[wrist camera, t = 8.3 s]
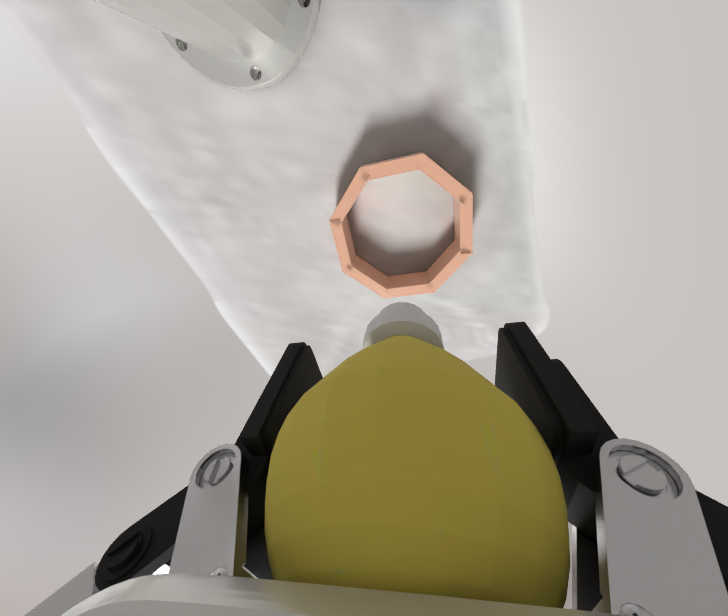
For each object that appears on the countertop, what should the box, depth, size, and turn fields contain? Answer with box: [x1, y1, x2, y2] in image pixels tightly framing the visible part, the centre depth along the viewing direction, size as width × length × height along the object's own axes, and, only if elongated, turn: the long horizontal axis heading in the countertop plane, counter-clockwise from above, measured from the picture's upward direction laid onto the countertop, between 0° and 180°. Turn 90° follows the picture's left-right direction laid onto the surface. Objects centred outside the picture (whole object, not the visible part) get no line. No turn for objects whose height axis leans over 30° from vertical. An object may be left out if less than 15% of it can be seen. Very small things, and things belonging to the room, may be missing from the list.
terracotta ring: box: [329, 152, 473, 298], centre depth 25 cm, size 12×12×3 cm
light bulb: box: [265, 302, 570, 608], centre depth 8 cm, size 7×7×10 cm
